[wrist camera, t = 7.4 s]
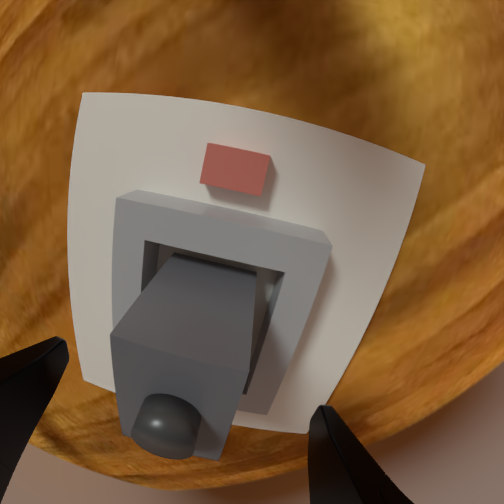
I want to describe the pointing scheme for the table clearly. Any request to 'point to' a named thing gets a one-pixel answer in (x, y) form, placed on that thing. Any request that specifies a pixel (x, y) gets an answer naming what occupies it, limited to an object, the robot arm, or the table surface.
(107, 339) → the socket
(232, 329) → the plug
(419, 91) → the table surface
